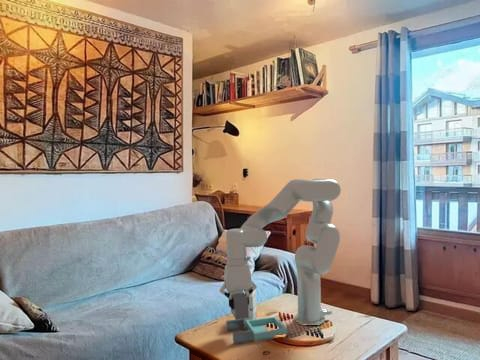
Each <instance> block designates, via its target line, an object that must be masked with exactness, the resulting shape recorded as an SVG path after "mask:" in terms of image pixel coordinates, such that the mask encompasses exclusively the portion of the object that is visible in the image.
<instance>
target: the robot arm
mask: <svg viewBox="0 0 480 360" xmlns="http://www.w3.org/2000/svg"><path fill="white" fill-rule="evenodd" d="M341 189H342V188H341V186H340V183H338V182H337V181H336V180H334V179H326V178H313V179H297V178H296V179H294V178H293V179H292V180H289V182H287V183H286V185H284V187H283V188H281V190H280V191H279V192H278V193H277V194H276V195H275V197H273V198H272V200H271V201H270V202H269V203H267V204H266V205H264V206H263V207H261V208H260V209H258V210H257V211H255V212H253V214H251V215H250V216H249V217H248V218H247V220H246V221H245V222H243V224H242V225H241V227H240V228H231V229H227V230H226V232H225V239H226V243H225V245H226V259H227V261H226V262H227V264H225V266H224V276H223V280H224V281H223V284H222V286H220V288H219V290H218V291H219V293H221V294H222V295H224V296H225V297H226V298H227V299H228V307H229V308H230V310H231V309H232V310H233V309H234V303H233V298H232V296H233V292H236V291H243V292H245V295H246V296H247V298H248V304H249V297H250V295H251V293H252V292H253V291H254V290H255V289H256V290H257V288H258V286H257V284H255V282H254V281H253V280H252V274H251V270H250V265H249V263H248V261H251V256H247V255H248V254H247V248H260V247H263V246H264V245H265V244H266V243H267V241H268V234H267V232H266V231H265V230H264V229H263V228H265V226H267V225H268V224H269V225H270V224H271V223H273V222H276V221H280V220H283V219H285V218H286V217H287V216H288V215H289V214H290V213H291V211H293V209H294V208H295V207H296V206H297V205H298V204H299V203H300V202H308V203H309V202H311V203H312V211H311V213H310V214H311V215H310V217H309V219H308V220H309V221H308V224H307V227H306V229H305V230H306V231H305V238H306V240H307V241H308V242H310V243H312V244H314V245H316V246H312V245H309V244H308V245H307V244H306V245H305V244H304V245H301V246H299V247H298V248H297V250H296V251H295V253H294V263H295V264H294V265H295V267H296V268H295V269H296V276H297V277H296V278H297V281H296V282H297V284H296V285H297V314H295V315H294V317H293V318H294V319H295V320H296V321H297V322H299V323H302V324H307V325H318V326H320V324H321V325H323V324H324V323H325V320H326V316H330V315H332V314H333V313H332V310H331V309H326V308H322V307H321V306H322V303H321V301H322V299H321V298H322V295H321V294H322V293H321V291H322V290H321V275H325V274H326V273H328V272H329V271H330V269H331V268H332V266H333V264H334V260H335V258H336V254H337V250H338V247H339V245H340V240H341V233H340V231H339V229H338V228H337V226H336V225H333V224H332V223H331V222H332V218H333V216H334V215H333V214H334V206H333V205H334V204H333V202H332V201H335V200H336V199H337V198H338V197H339V196H341V195H340V194H341ZM295 320H294V321H295ZM297 322H296V323H297ZM322 323H323V324H322Z"/></svg>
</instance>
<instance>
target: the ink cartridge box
mask: <svg viewBox="0 0 480 360" xmlns="http://www.w3.org/2000/svg"><path fill="white" fill-rule="evenodd" d="M243 292H244V291H243ZM244 293H245V292H244ZM248 314H249V318H243V319H244V325H245V320H252V319H257V288H256V289H255V290H254V291H253V292H252V293H251V295H250V297H249V304H248Z"/></svg>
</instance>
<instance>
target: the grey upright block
mask: <svg viewBox="0 0 480 360" xmlns="http://www.w3.org/2000/svg"><path fill="white" fill-rule="evenodd" d="M232 298H233V303H234V309H233V310H232V309H231V308H230V312H231V314H232V316H233V318H234V320H237V319H243V318H249V314H248V298H247V296H246V295H245V293H244V290H243V291H236V292H233V296H232Z"/></svg>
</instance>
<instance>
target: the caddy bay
mask: <svg viewBox="0 0 480 360" xmlns="http://www.w3.org/2000/svg"><path fill="white" fill-rule="evenodd" d="M225 324H226V329H225V330H226V332H232V344H233V345H238V344H245V343H251V342H253V338H252V331H251V330H249V331H247V330H245V324H244V319H237V320H236V319H229V320H226V321H225Z"/></svg>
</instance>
